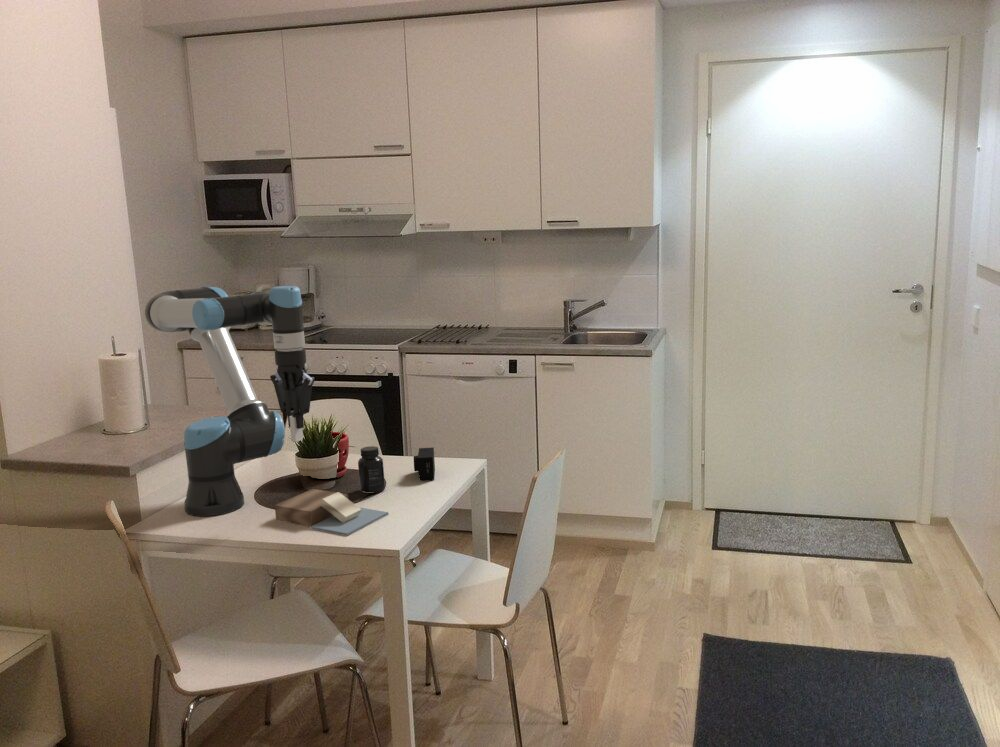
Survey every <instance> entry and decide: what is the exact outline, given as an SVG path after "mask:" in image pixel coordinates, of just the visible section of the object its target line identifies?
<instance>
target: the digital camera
mask: <svg viewBox="0 0 1000 747" xmlns="http://www.w3.org/2000/svg"><path fill="white" fill-rule="evenodd" d="M413 470H414V472H418V482H432V481H435V475H436V474H435V473H436V465H435V448H434V446H433V447H419V448H418V454H417V455H413Z"/></svg>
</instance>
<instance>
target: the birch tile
mask: <svg viewBox="0 0 1000 747" xmlns="http://www.w3.org/2000/svg"><path fill="white" fill-rule="evenodd" d="M342 494H343V493H341V492H339V491H338V492H335V494H332V495H330V496H328V497H326V498H324V499H322V502H321V506H322V507H323V508H324V509H326V510H327V511H328V512H330V513H331V514H332V515H333V516H335V517H336V518H337V519H339V520H340V521H341V522H342V523H345V522H347V521H349V520H351V519H353V518H355V517H357V516H359V515H360V512H361V509H360V508H361V507H360V508H359V506H358V505H356V504H355V503H354V502H353V501H351V500H350V499H349V498H348V499H347V498H346V497H345V496H343V495H342Z"/></svg>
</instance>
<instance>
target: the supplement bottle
mask: <svg viewBox="0 0 1000 747" xmlns="http://www.w3.org/2000/svg"><path fill="white" fill-rule="evenodd" d="M379 454H380V452H379V447H378V446H373V445H372V446H370V445H369V446H364V447H362V448H361V449H360V457H361V458H359V459H358V461H357V466H358V478H359V489H360V492H361V491H365V492H374V494H379V493H381V492H384V491H385V489H386V483H385V482H386V481H385V470H384V459H383V457H381V456H379Z"/></svg>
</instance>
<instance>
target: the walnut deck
mask: <svg viewBox="0 0 1000 747" xmlns="http://www.w3.org/2000/svg"><path fill="white" fill-rule="evenodd" d="M335 493H336V491H335V492H334V491H328V490H321V489H318V488H317V489H315V488H311V489H309V490H307V491H304V492H302V493H299V494H298V495H295V496H292V497H289V498H288V499H285V500H283V501H281V502H279V503H276V504H274V511H275V521H279V522H283V523H288V524H294V525H297V526H298V525H299V526H303V527H304V526H305V527H310V528H311V526H313V525H315V524H317V523H319V522H321V521H323V520H325V519H327V518H329V517H331V516H333V515H332V514H331V513H330V512H328V511H327V510H326V509H324V508H323V507H322V506H321V502H322V499H324V498H326V497H328V496H330V495H332V494H335ZM341 494H342V495H343V496H345V497H346V498H347V499H349V495H348V494H346V493H341Z"/></svg>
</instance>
